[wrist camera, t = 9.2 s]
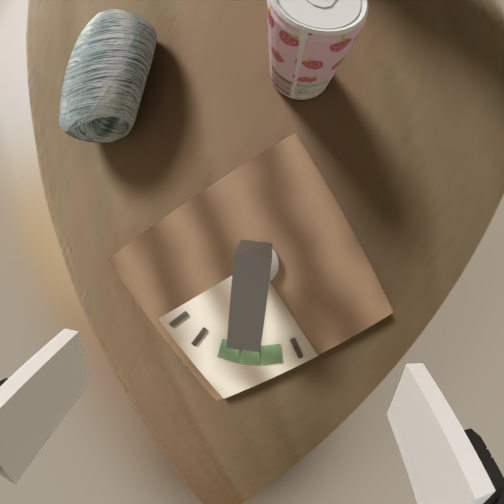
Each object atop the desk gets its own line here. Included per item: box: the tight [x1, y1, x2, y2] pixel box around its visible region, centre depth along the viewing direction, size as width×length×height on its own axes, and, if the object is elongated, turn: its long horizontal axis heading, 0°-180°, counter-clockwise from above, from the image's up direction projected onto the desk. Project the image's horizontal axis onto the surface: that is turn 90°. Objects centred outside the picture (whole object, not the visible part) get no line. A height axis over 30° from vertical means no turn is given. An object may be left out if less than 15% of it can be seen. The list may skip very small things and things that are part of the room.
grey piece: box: [226, 239, 279, 352], centre depth 24 cm, size 11×4×10 cm, turn 174°
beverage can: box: [267, 0, 368, 100], centre depth 19 cm, size 6×6×15 cm
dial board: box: [108, 133, 393, 401], centre depth 30 cm, size 22×20×2 cm
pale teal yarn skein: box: [59, 9, 157, 143], centre depth 24 cm, size 14×10×10 cm
